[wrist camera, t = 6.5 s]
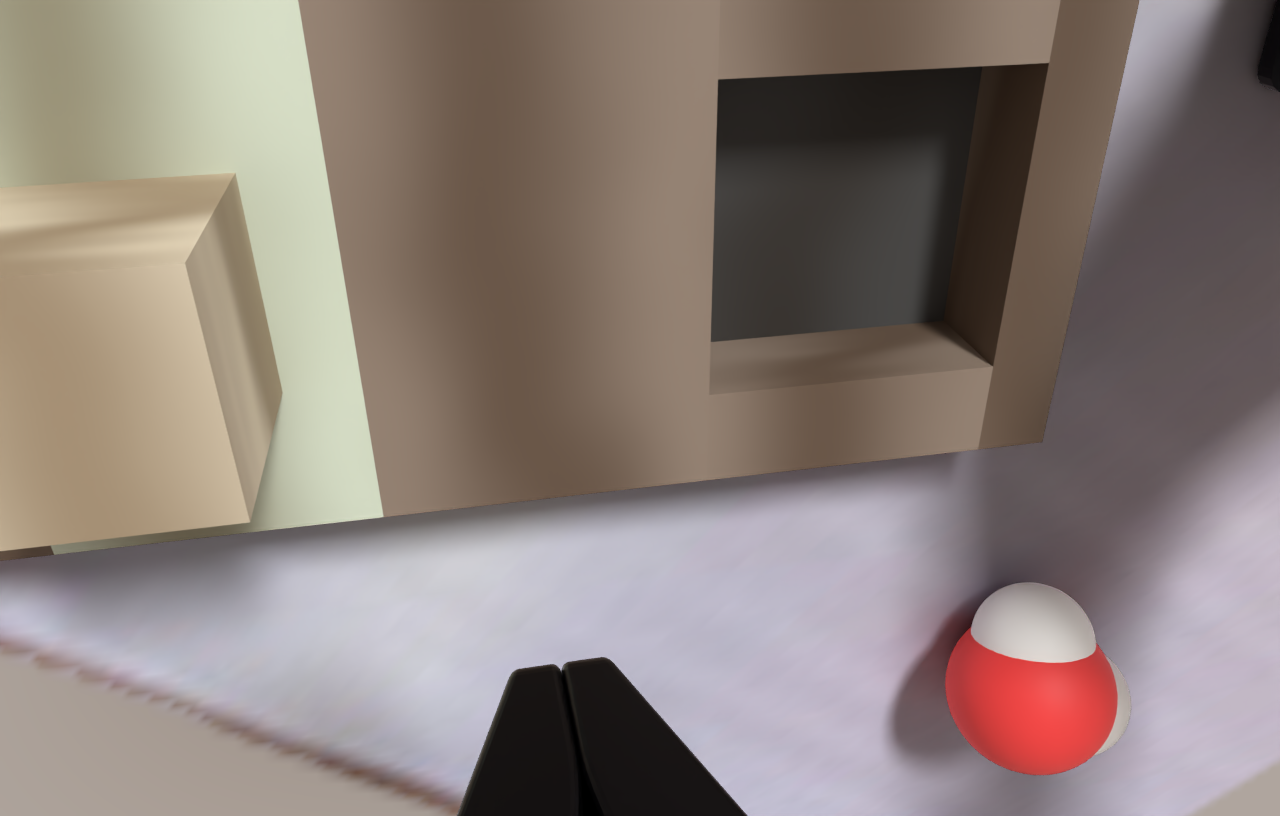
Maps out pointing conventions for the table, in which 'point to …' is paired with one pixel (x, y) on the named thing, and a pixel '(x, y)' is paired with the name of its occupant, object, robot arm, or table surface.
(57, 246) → the block
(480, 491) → the trap box
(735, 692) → the table surface
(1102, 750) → the molecule
